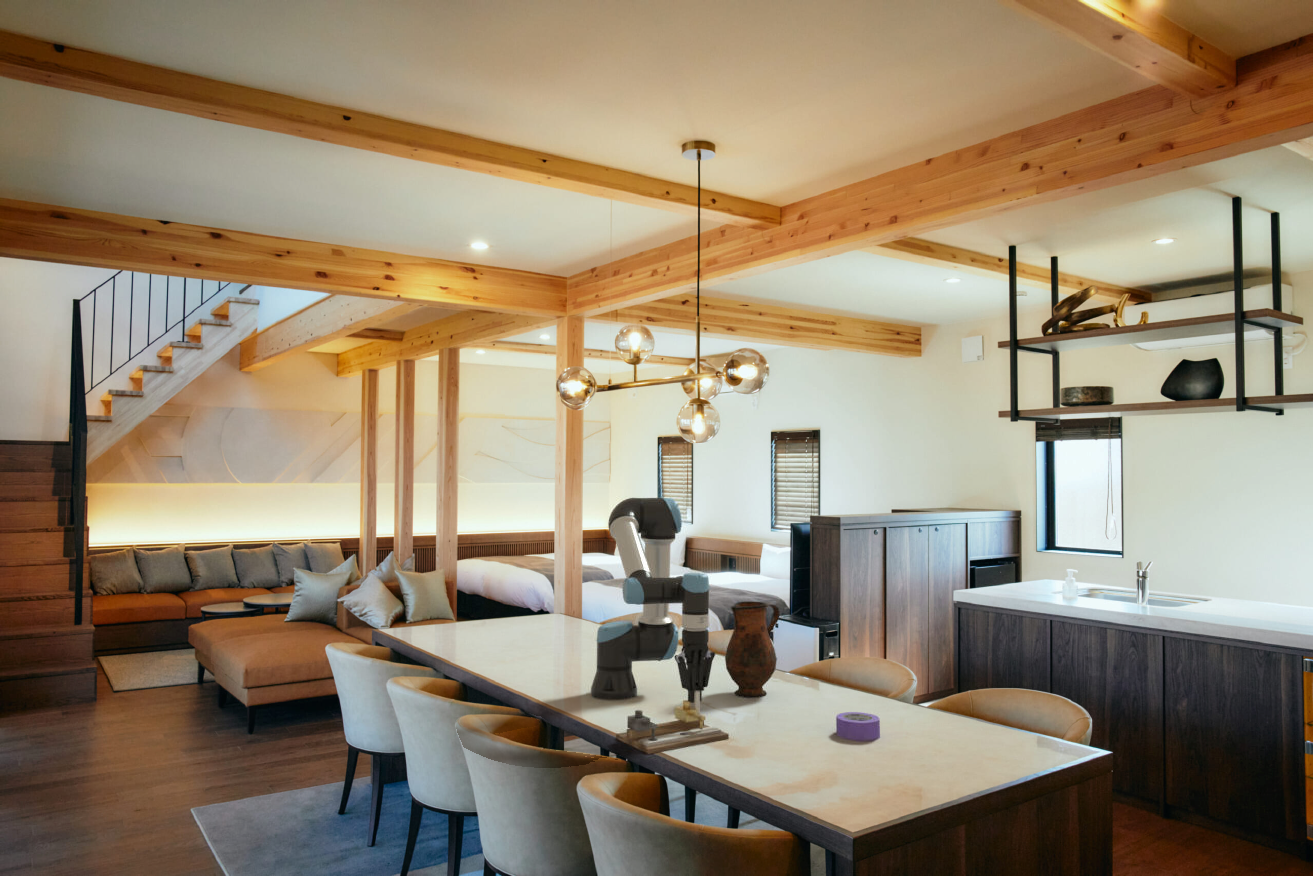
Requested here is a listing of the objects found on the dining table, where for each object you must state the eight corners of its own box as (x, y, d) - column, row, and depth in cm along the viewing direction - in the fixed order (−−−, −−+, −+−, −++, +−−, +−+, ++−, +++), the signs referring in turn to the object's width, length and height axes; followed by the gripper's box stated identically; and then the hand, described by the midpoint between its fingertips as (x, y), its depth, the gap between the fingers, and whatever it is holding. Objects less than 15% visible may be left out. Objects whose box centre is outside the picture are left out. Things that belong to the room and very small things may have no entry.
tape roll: (827, 732, 238) (827, 713, 239) (862, 727, 243) (862, 710, 243) (853, 743, 228) (853, 724, 228) (888, 738, 232) (888, 720, 233)
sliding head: (675, 722, 237) (675, 700, 238) (686, 720, 239) (686, 698, 240) (697, 731, 228) (697, 708, 229) (709, 728, 231) (709, 706, 231)
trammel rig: (616, 738, 229) (616, 709, 230) (693, 724, 244) (693, 697, 244) (648, 754, 216) (648, 722, 217) (728, 738, 230) (728, 709, 231)
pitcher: (714, 693, 283) (715, 602, 284) (760, 684, 295) (760, 597, 297) (749, 703, 269) (749, 607, 271) (795, 694, 282) (795, 603, 284)
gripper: (684, 632, 233) (683, 720, 231) (721, 628, 240) (721, 713, 239) (668, 628, 239) (668, 714, 237) (705, 625, 246) (705, 708, 245)
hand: (694, 713), depth 238 cm, fingers closed
